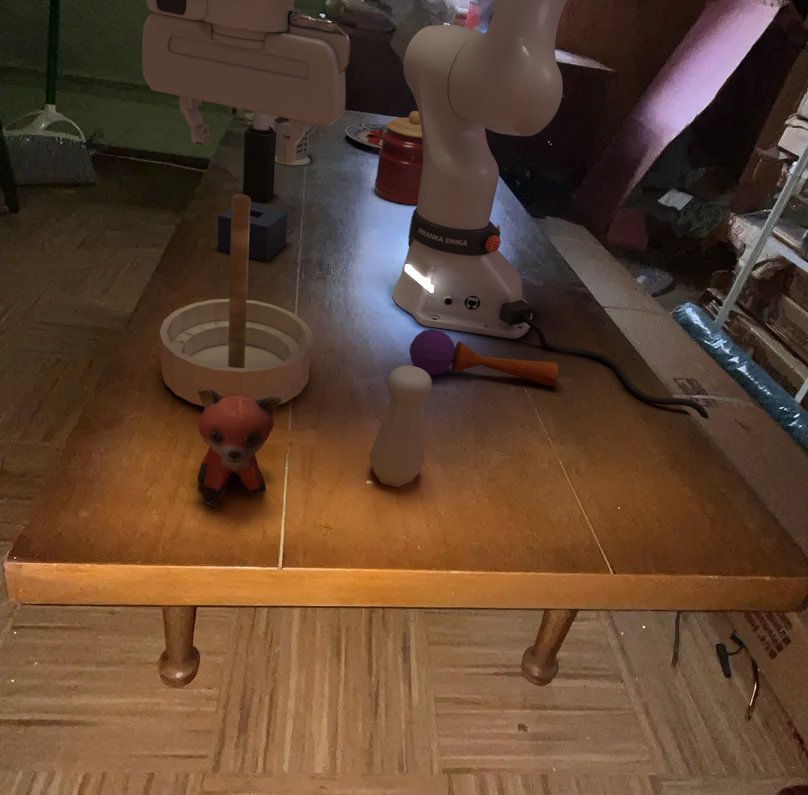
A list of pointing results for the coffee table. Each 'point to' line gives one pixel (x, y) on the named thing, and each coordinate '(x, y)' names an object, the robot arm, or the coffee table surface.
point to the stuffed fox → (233, 440)
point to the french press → (280, 137)
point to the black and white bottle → (259, 159)
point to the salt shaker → (402, 428)
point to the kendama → (472, 359)
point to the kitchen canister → (401, 160)
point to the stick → (238, 279)
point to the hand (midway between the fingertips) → (243, 152)
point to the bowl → (208, 352)
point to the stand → (257, 231)
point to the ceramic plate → (367, 134)
